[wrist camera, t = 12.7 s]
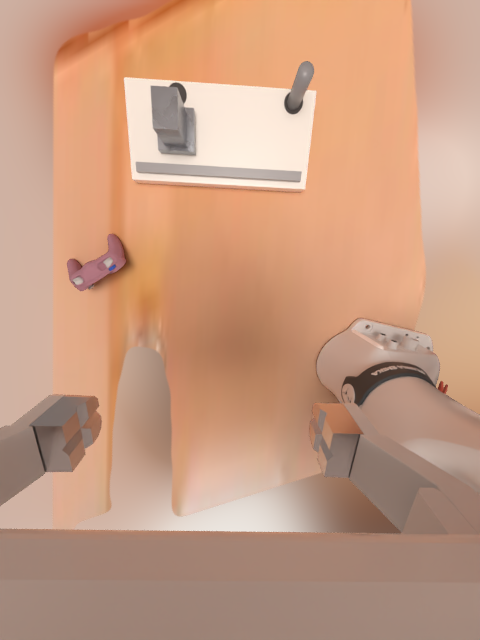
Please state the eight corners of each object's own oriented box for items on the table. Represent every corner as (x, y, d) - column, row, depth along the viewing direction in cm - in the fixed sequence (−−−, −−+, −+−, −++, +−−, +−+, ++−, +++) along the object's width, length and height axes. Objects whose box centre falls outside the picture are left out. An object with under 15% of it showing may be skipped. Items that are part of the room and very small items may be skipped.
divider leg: (195, 93, 31) (185, 57, 25) (195, 155, 33) (187, 135, 27) (157, 90, 31) (139, 53, 25) (160, 153, 33) (144, 132, 27)
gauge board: (311, 99, 34) (334, 56, 26) (301, 192, 37) (318, 178, 30) (130, 87, 33) (98, 38, 25) (137, 183, 36) (111, 166, 29)
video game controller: (90, 278, 42) (79, 301, 37) (67, 259, 39) (52, 280, 34) (134, 251, 41) (129, 271, 36) (114, 229, 38) (105, 247, 33)
